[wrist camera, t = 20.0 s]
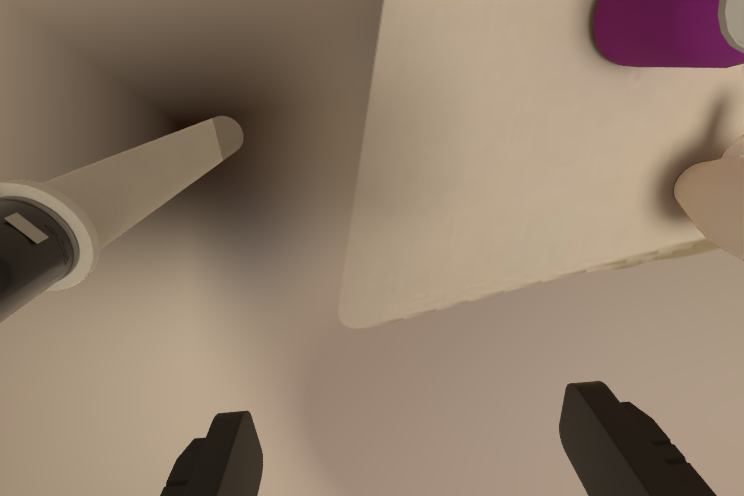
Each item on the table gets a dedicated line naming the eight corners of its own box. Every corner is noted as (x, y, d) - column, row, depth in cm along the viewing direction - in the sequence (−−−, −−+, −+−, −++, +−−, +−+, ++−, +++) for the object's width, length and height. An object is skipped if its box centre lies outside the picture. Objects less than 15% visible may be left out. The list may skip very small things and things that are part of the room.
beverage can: (652, 77, 33) (798, 83, 22) (570, 53, 32) (681, 48, 21) (705, -30, 30) (905, -84, 19) (616, -59, 29) (773, -134, 18)
